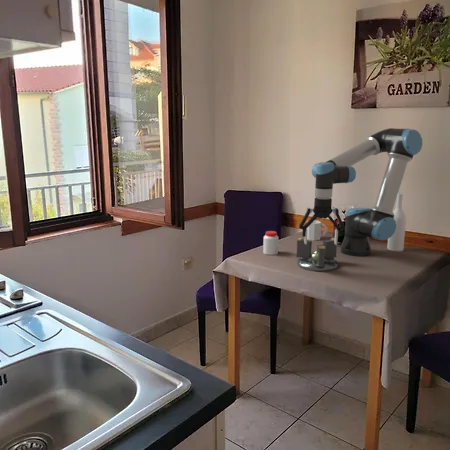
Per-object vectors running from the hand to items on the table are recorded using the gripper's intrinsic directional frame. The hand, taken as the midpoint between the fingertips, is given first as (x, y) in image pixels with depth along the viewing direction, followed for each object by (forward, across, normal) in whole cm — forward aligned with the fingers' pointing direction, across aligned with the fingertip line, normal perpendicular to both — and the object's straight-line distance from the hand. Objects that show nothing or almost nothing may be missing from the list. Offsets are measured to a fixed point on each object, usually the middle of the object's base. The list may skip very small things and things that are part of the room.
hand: (320, 243), depth 207 cm
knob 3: (+10, -7, -11) cm, 16 cm away
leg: (+11, 0, 0) cm, 11 cm away
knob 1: (+11, +6, -11) cm, 16 cm away
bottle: (+12, -46, -33) cm, 58 cm away
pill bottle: (+13, +20, -26) cm, 36 cm away
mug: (+12, -8, -54) cm, 56 cm away
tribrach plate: (+12, 0, -7) cm, 14 cm away
